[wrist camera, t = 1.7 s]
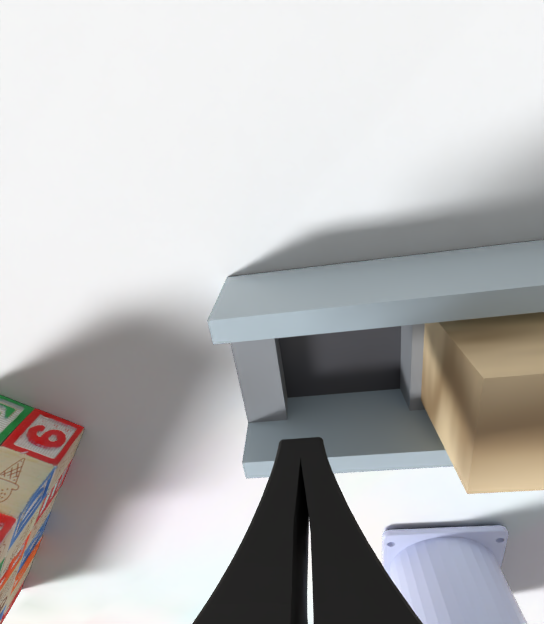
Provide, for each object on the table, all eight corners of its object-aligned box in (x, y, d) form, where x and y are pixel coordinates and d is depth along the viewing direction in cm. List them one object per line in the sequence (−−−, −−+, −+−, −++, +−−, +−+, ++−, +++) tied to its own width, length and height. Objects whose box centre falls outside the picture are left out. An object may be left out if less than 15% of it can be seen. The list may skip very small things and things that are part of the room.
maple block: (532, 391, 17) (621, 485, 12) (420, 400, 17) (467, 493, 13) (553, 292, 14) (672, 363, 10) (425, 306, 15) (483, 378, 10)
